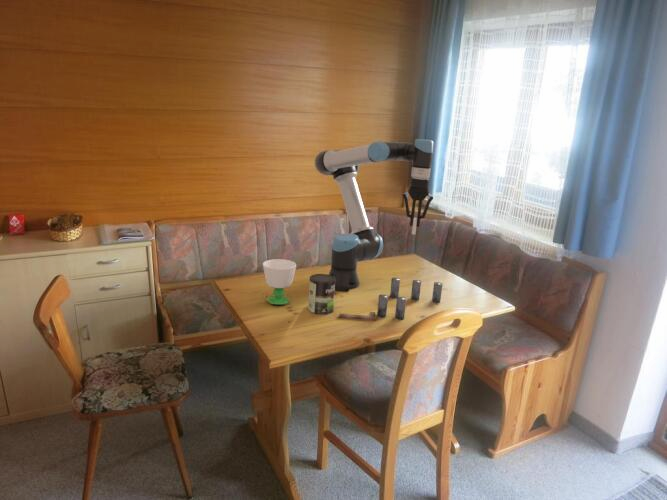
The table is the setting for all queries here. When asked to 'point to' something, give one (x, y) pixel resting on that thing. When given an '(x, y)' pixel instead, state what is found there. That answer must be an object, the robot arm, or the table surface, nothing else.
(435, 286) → the post
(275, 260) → the cup
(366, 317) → the hook stick
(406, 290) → the table surface
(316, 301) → the coffee can
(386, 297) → the post
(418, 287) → the post
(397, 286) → the post
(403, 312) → the post
